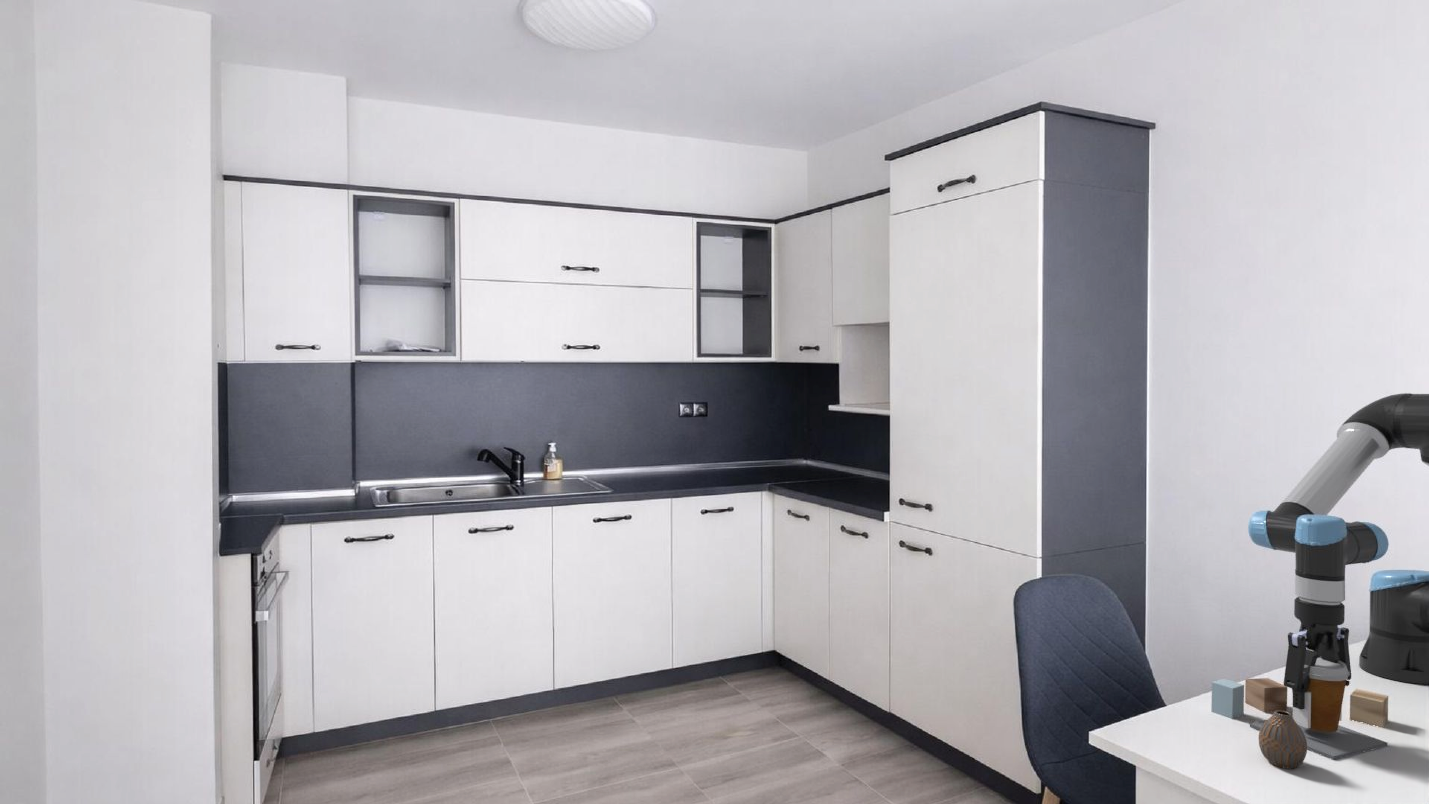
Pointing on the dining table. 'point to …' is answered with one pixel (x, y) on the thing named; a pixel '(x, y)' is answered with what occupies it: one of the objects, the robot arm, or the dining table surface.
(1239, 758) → the dining table surface
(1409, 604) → the robot arm
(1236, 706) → the block
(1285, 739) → the vase
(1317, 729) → the disposable coffee cup
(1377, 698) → the block
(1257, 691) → the block
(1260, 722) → the mat
